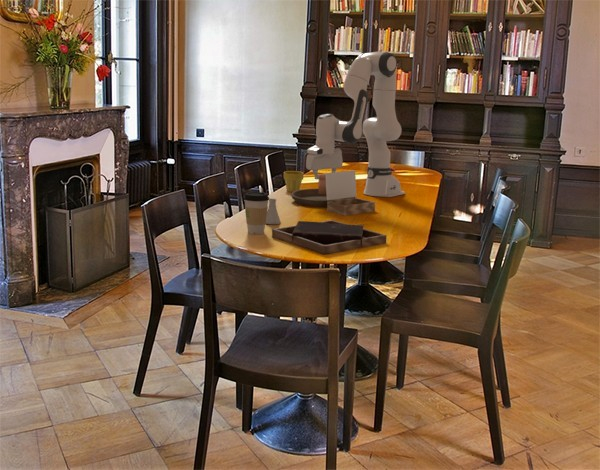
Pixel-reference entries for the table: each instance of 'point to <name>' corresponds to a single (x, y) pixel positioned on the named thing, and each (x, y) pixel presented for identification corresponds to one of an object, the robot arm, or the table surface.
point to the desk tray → (367, 240)
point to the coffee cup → (256, 211)
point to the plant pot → (293, 180)
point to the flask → (272, 213)
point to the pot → (322, 184)
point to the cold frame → (350, 206)
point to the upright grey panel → (340, 185)
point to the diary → (328, 232)
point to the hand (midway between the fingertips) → (324, 178)
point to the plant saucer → (312, 198)
